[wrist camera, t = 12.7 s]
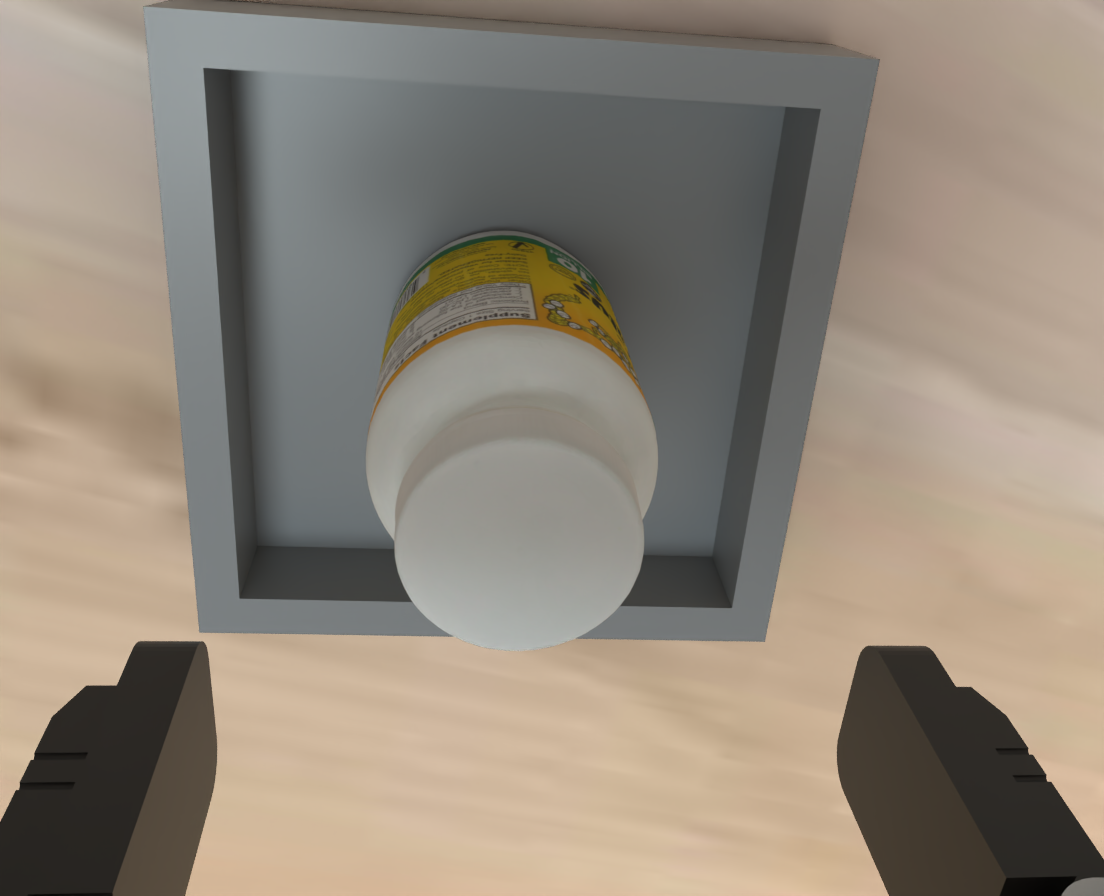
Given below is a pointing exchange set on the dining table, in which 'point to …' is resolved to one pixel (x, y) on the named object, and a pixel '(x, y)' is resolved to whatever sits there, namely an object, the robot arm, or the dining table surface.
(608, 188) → the tray
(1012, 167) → the dining table surface
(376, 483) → the supplement bottle
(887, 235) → the dining table surface
